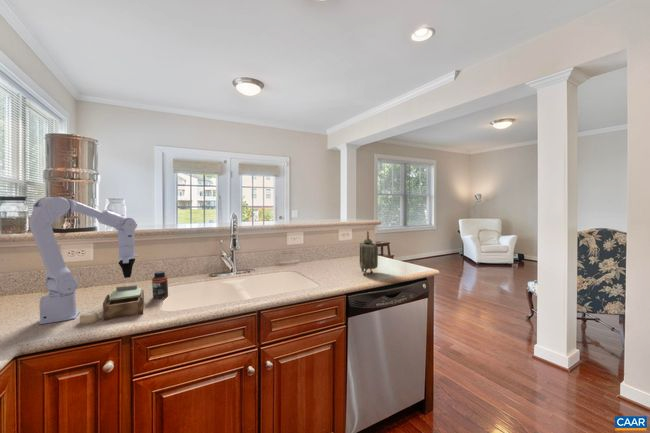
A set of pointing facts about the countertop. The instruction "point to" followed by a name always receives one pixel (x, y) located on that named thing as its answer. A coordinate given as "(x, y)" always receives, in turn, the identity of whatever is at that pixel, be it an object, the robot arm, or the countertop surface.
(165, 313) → the countertop surface
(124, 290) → the lid
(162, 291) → the supplement bottle
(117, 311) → the box
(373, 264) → the green suitcase
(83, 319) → the beige square block
